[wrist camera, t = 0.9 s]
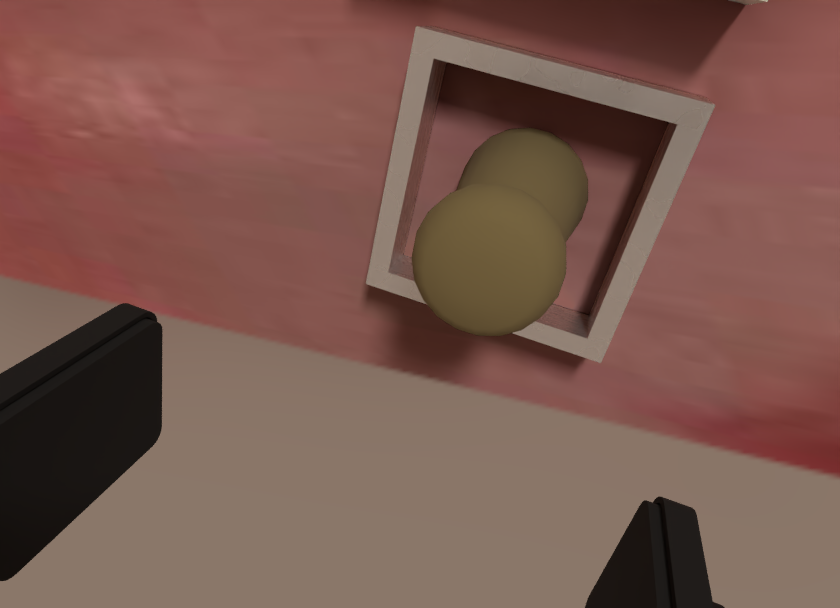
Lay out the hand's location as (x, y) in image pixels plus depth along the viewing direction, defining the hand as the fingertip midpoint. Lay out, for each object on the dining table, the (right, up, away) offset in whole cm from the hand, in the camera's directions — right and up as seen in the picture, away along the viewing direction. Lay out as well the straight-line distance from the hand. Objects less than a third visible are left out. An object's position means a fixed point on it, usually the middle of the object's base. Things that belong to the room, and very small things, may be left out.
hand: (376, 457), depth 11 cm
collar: (+6, +8, +17) cm, 20 cm away
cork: (+6, +8, +17) cm, 20 cm away
